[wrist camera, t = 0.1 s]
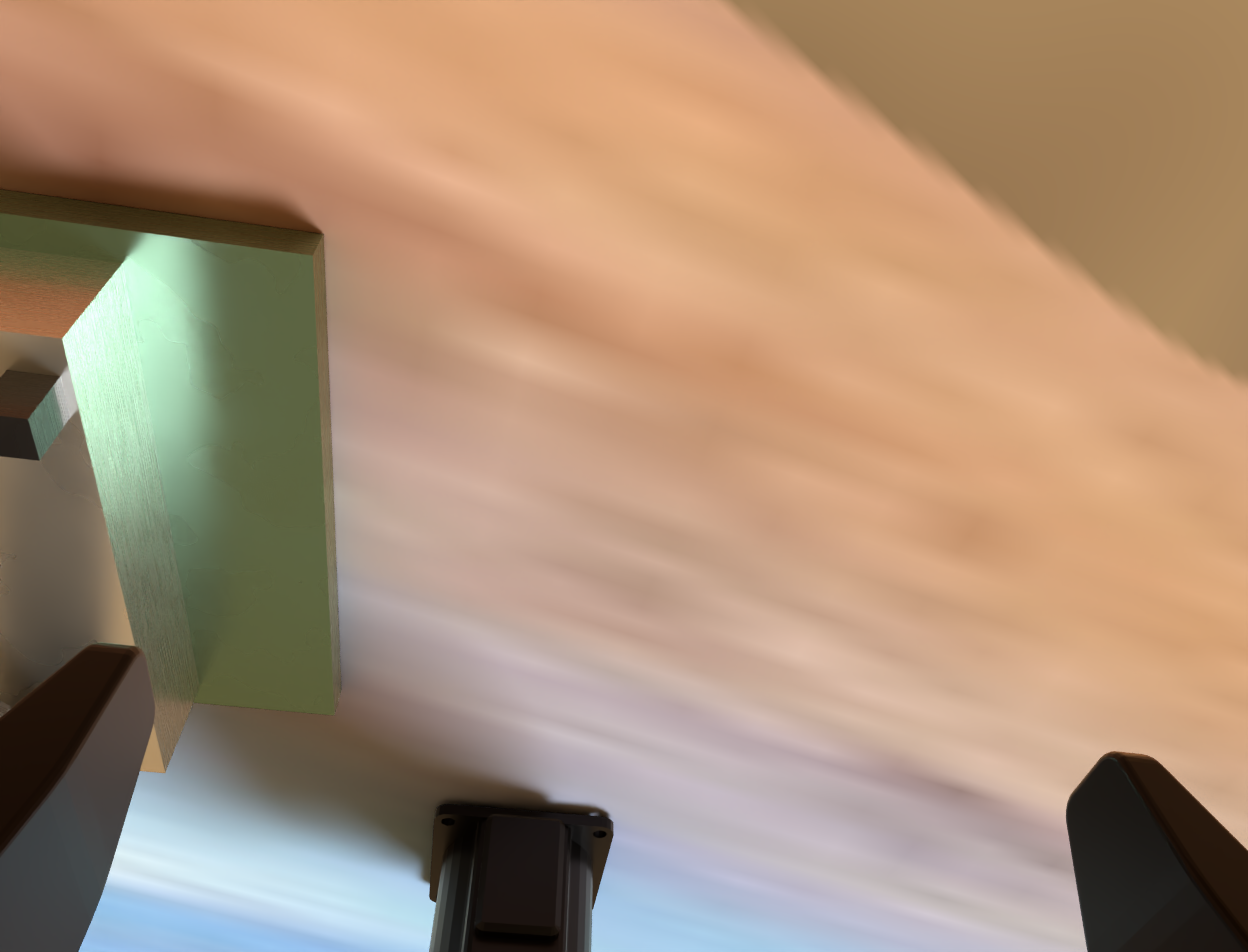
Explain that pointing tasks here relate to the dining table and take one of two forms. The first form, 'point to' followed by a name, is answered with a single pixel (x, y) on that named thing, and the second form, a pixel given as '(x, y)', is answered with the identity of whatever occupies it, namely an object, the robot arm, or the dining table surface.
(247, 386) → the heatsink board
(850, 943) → the dining table surface
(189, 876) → the dining table surface
